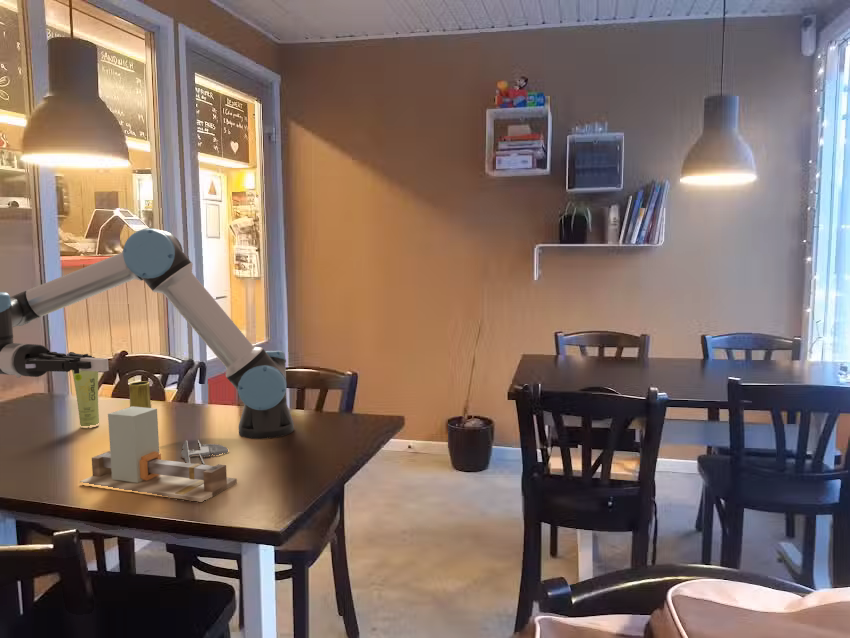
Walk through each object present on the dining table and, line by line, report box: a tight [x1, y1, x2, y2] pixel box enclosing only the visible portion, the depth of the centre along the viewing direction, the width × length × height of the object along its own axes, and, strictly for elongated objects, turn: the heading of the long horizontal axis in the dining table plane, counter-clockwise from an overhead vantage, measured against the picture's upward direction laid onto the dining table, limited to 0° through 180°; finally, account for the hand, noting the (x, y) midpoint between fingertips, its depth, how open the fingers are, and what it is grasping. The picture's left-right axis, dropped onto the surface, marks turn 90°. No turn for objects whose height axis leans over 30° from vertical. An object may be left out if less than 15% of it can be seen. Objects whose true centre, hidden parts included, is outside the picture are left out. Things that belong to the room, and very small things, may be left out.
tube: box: [71, 368, 100, 426], centre depth 190 cm, size 6×5×20 cm
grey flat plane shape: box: [180, 439, 228, 465], centre depth 165 cm, size 28×28×1 cm
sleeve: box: [107, 406, 162, 483], centre depth 145 cm, size 8×7×15 cm
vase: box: [128, 380, 152, 408], centre depth 184 cm, size 6×6×14 cm
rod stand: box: [79, 450, 238, 502], centre depth 144 cm, size 32×12×5 cm, turn 71°
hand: (105, 365), depth 146 cm, fingers closed
